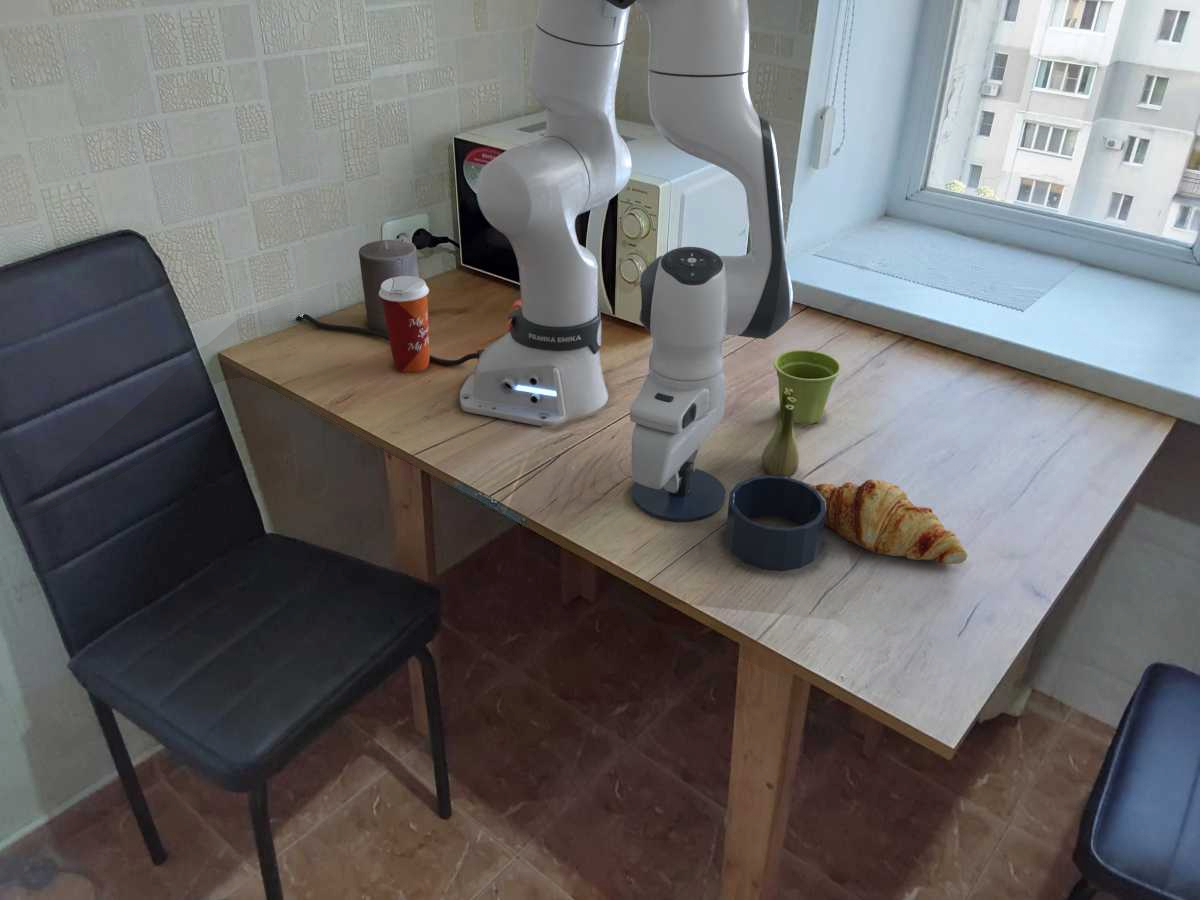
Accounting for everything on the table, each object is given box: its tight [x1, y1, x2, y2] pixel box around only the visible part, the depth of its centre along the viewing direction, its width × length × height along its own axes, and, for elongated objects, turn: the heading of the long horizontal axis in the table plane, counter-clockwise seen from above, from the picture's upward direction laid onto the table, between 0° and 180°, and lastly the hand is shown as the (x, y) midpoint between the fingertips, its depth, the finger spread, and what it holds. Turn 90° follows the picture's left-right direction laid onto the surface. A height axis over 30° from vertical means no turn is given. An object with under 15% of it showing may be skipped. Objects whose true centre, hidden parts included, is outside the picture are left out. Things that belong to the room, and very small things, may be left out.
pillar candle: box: [358, 239, 420, 335], centre depth 166 cm, size 10×10×15 cm
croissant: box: [806, 479, 968, 565], centre depth 116 cm, size 21×10×8 cm, turn 53°
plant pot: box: [773, 349, 842, 425], centre depth 140 cm, size 9×9×9 cm
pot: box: [724, 474, 826, 572], centre depth 114 cm, size 11×11×6 cm
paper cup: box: [379, 276, 430, 374], centre depth 152 cm, size 8×8×14 cm
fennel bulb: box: [760, 388, 800, 478], centre depth 126 cm, size 6×5×12 cm
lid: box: [631, 461, 727, 523], centre depth 123 cm, size 12×12×5 cm
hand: (679, 481), depth 123 cm, fingers open, 3 cm apart
